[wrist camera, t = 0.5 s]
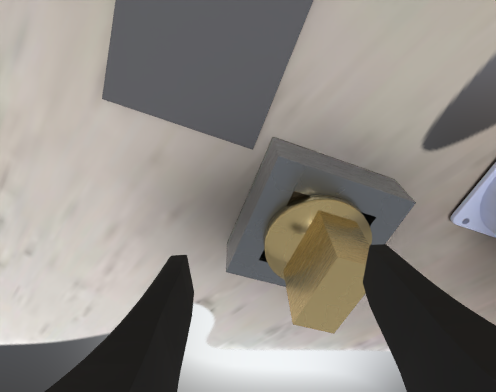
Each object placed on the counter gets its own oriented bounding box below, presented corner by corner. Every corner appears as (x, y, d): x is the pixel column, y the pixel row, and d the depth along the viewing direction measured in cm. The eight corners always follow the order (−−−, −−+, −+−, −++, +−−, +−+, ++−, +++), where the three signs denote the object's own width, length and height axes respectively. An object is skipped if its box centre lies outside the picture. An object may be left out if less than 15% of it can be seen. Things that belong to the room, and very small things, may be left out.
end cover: (371, 190, 22) (428, 268, 15) (326, 258, 25) (358, 348, 18) (283, 160, 20) (305, 232, 14) (247, 237, 23) (251, 325, 17)
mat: (316, -14, 16) (319, -15, 15) (252, 145, 20) (252, 149, 19) (133, -101, 14) (130, -104, 13) (105, 96, 18) (102, 98, 18)
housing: (394, 179, 22) (415, 202, 19) (331, 271, 26) (342, 300, 23) (273, 136, 20) (278, 156, 17) (227, 243, 24) (226, 271, 21)
